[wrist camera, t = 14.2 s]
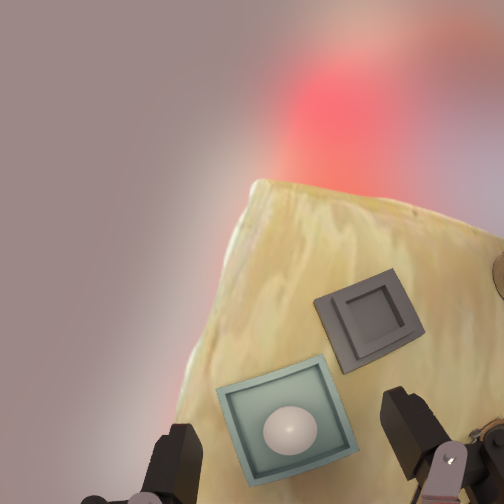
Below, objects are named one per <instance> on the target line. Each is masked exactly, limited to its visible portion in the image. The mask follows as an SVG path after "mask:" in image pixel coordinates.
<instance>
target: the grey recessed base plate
mask: <svg viewBox="0 0 504 504" xmlns="http://www.w3.org/2000/svg"><path fill="white" fill-rule="evenodd" d="M313 303H314V305H315V308H316V310H317V312H318V315H319V317H320V320H321V322H322V324H323V327H324V329H325V331H326V334H327V336H328V339H329V341H330V344H331V346H332V348H333V351H334V353H335V356H336V358H337V361H338V363H339V366H340V368H341V371H342V373H343V375H344V374H346V373H348V372H351V371H353V370H355V369H357V368H359V367H362V366H364V365H366V364H368V363H370V362H372V361H374V360H376V359H378V358H380V357H382V356H384V355H386V354H388V353H390V352H392V351H394V350H396V349H398V348H399V347H401V346H403V345H405V344H407V343H409V342H410V341H412V340H414V339H416V338H417V337H419V336H421V335H423V334H424V333H426V332H425V330H424V328H423V326H422V324H421V322H420V320H419V318H418V316H417V313H416V311H415V309H414V307H413V305H412V303H411V301H410V299H409V297H408V296H407V294H406V292H405V290H404V288H403V286H402V284H401V282H400V280H399V279H398V277H397V275H396V273H395V271H394V270H393V268H392V269H390V270H387V271H385V272H383V273H380V274H378V275H375V276H373V277H371V278H368V279H366V280H363V281H361V282H358V283H356V284H353V285H351V286H348V287H346V288H343V289H341V290H338V291H336V292H333V293H331V294H328V295H325V296H323V297H320V298H317V299H315V300H314V302H313Z"/></svg>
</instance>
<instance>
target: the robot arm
mask: <svg viewBox="0 0 504 504" xmlns="http://www.w3.org/2000/svg"><path fill="white" fill-rule="evenodd" d="M493 277H494V281H495V285H496V287H497V290H498V291H499V293H500V295H501V296H502V297H503V299H504V252H503V253H502V254H501V255H500V256H499V257H498V258H497V259H496V261H495V263H494V266H493ZM380 421H381V425H382V427H383V429H384V431H385V434H386V436H387V438H388V440H389V442H390V444H391V446H392V448H393V450H394V452H395V455H396V457H397V459H398V461H399V463H400V465H401V468H402V470H403V472H404V474H405V476H406V479H407V481H409V480H411V479H413V478H416V479H417V482H418V484H417V486H416V489H415V491H414V494H413V496H412V499H411V501H410V504H460V503H461V501H460V500H459V499H458V496H459V492H460V488H463V487H464V489H465V491H466V493H467V495H468V497H469V500H470V502H471V504H504V429H496V430H494V431H492V432H490V433H489V434H488V436H487V437H486V439H485V440H483V441H479V442H475V443H471V444H466V445H463V444H462V443H460V442H457V441H452V440H451V439H450V438H449V436H448V435H447V433H446V432H445V430H444V429H443V427H442V426H441V424H440V423H439V421H438V420H437V418H436V417H435V415H433V412H432V411H431V410H430V409H429V407H428V405H427V404H426V402H425V401H424V400H423V399H422V398H421V397H419V396H418V395H416V394H414V393H413V394H411V395H408V394H407V393H406V391H405V390H404V388H403V387H401V386H399V387H396V388H393V389H390V390H387V391H385V392H384V393H383V399H382V405H381V411H380ZM202 459H203V448H202V444H201V442H200V440H199V438H198V436H197V434H196V432H195V430H194V428H193V426H192V425H191V424H172V426H171V429H170V432H169V435H162V436H161V437H160V439H159V440H158V441H157V442H156V443H155V446H154V450H153V455H152V456H151V459H150V461H151V462H150V463H149V466H148V470H147V473H146V476H145V480H144V483H143V487H142V489H141V491H140V493H137V494H135V495H133V496H132V497H131V498H130V499H129V500H125V501H112V502H107V501H106V500H105V499H104V498H102V497H100V496H94V495H93V496H89V497H86V498H85V499H84V500H83V501H82V502H81V504H196V502H197V494H198V487H199V480H200V473H201V466H202Z"/></svg>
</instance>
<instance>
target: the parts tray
mask: <svg viewBox="0 0 504 504" xmlns="http://www.w3.org/2000/svg"><path fill="white" fill-rule="evenodd" d="M216 392H217V395H218V398H219V402H220V405H221V408H222V411H223V414H224V418H225V421H226V424H227V427H228V430H229V433H230V436H231V439H232V442H233V445H234V448H235V450H236V453H237V456H238V459H239V462H240V464H241V467H242V470H243V473H244V475H245V478H246V481H247V483H248V486H249V487H253V486H257V485H262V484H266V483H270V482H273V481H277V480H281V479H284V478H288V477H291V476H294V475H298V474H301V473H304V472H307V471H310V470H313V469H315V468H318V467H321V466H324V465H326V464H329V463H331V462H334V461H336V460H339V459H341V458H344V457H346V456H348V455H351V454H353V453H355V452H357V451H360V450H359V448H358V445H357V442H356V439H355V437H354V434H353V431H352V428H351V426H350V423H349V420H348V418H347V415H346V412H345V410H344V407H343V404H342V402H341V399H340V397H339V394H338V391H337V389H336V386H335V384H334V381H333V378H332V376H331V373H330V371H329V368H328V366H327V363H326V361H325V358H324V356H323V354H321V355H318V356H316V357H313V358H310V359H308V360H305V361H302V362H300V363H297V364H294V365H291V366H289V367H286V368H283V369H280V370H277V371H274V372H271V373H268V374H265V375H262V376H259V377H255V378H252V379H249V380H246V381H242V382H239V383H235V384H232V385H228V386H225V387H221V388H217V389H216ZM283 406H295V407H299V408H302V409H304V410H306V411H307V412H309V413H310V414H311V415H312V416H313V418H314V419H315V421H316V424H317V435H316V438H315V441H314V442H313V444H312V445H311V446H310V447H309V448H308V449H307V450H305V451H304V452H302V453H299V454H296V455H282V454H279V453H277V452H275V451H273V450H272V449H271V448H270V447H269V446H268V445H267V444H266V442H265V440H264V436H263V429H264V425H265V422H266V420H267V419H268V417H269V416H270V415H271V414H272V413H273V412H274V411H276V410H277V409H278V408H280V407H283Z"/></svg>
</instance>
